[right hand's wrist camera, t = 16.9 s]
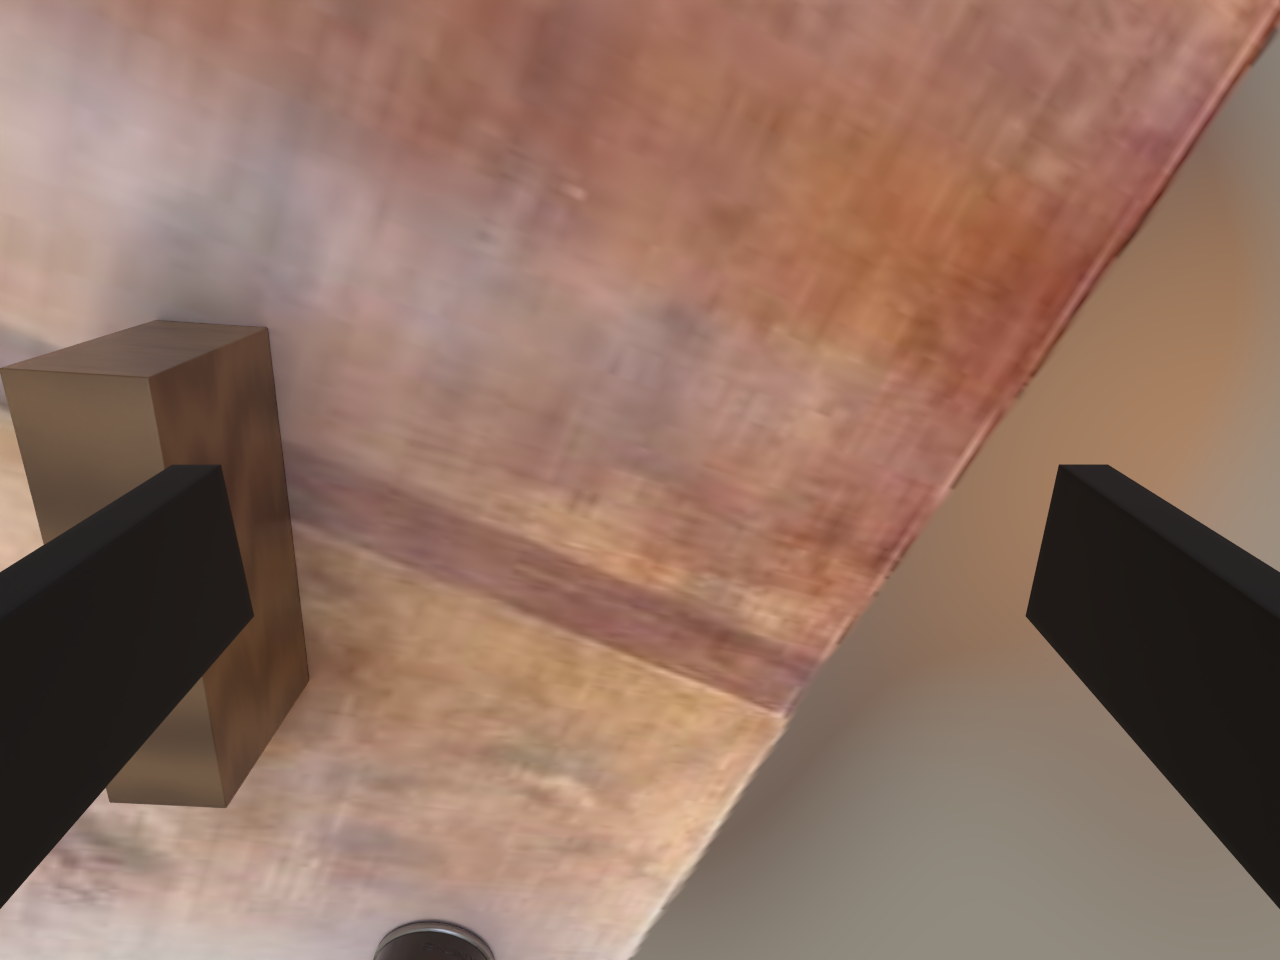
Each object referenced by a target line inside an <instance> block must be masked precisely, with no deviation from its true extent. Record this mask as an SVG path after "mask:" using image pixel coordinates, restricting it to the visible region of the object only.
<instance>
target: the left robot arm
mask: <svg viewBox="0 0 1280 960" xmlns="http://www.w3.org/2000/svg"><path fill="white" fill-rule="evenodd" d="M374 960H494V958H493V955H492V953H491V951H490V950H489V948H488V947H487V946H486V945H485V944H484V943H483V942H482V941H481V940H480V939H479V938H478V937H476V936H475V935H473V934H472V933H470V932H468V931H466V930H464V929H461V928H459V927H456V926H453V925H448V924H443V923H435V922H424V923H415V924H410V925H407V926H404V927H401V928H399V929H397V930H395V931H393V932H391V933H390V934H389V935H387V936H386V937H385V938H384V939H383V940H382V941H381V943H380V944H379V946H378V948H377V950H376V953H375V956H374Z"/></svg>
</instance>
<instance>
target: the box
mask: <svg viewBox="0 0 1280 960" xmlns="http://www.w3.org/2000/svg"><path fill="white" fill-rule="evenodd" d="M0 374H1V378H2V382H3V386H4V390H5V393H6V397H7V401H8V405H9V409H10V413H11V417H12V421H13V425H14V429H15V433H16V437H17V441H18V444H19V448H20V452H21V456H22V460H23V464H24V468H25V472H26V476H27V480H28V484H29V488H30V492H31V495H32V499H33V503H34V507H35V511H36V515H37V519H38V523H39V527H40V531H41V535H42V539H43V543H44V545H45V544H46V543H48V542H49V541H51V540H53V539H54V538H56V537H57V536H59V535H61V534H62V533H64V532H65V531H67V530H69V529H70V528H72V527H73V526H75V525H77V524H78V523H80V522H81V521H83V520H85V519H86V518H88V517H89V516H91V515H93V514H94V513H96V512H97V511H99V510H101V509H102V508H104V507H105V506H107V505H109V504H110V503H112V502H113V501H115V500H117V499H118V498H120V497H121V496H123V495H124V494H126V493H128V492H129V491H131V490H132V489H134V488H136V487H137V486H139V485H140V484H142V483H144V482H145V481H147V480H148V479H150V478H152V477H153V476H155V475H156V474H158V473H160V472H161V471H163V470H164V469H166V468H168V467H169V466H171V465H221V467H222V471H223V476H224V480H225V485H226V490H227V494H228V499H229V503H230V508H231V512H232V517H233V521H234V526H235V530H236V535H237V540H238V544H239V549H240V553H241V558H242V562H243V567H244V571H245V576H246V581H247V585H248V590H249V594H250V599H251V603H252V608H253V612H254V617H253V618H252V619H251V620H250V622H249V623H248V624H247V625H246V626H245V627H244V629H243V630H242V631H241V632H240V633H239V634H238V635H237V637H236V638H235V639H234V640H233V641H232V642H231V644H230V645H229V646H228V647H227V648H226V649H225V650H224V652H223V653H222V654H221V655H220V656H219V657H218V659H217V660H216V661H215V662H214V663H213V664H212V665H211V667H210V668H209V669H208V670H207V671H206V672H205V674H204V675H203V676H202V677H201V678H200V679H199V680H198V682H197V683H196V684H195V685H194V686H193V687H192V689H191V690H190V691H189V692H188V693H187V694H186V695H185V697H184V698H183V699H182V700H181V701H180V702H179V703H178V705H177V706H176V707H175V708H174V709H173V710H172V712H171V713H170V714H169V715H168V716H167V717H166V718H165V720H164V721H163V722H162V723H161V724H160V725H159V727H158V728H157V729H156V730H155V731H154V732H153V733H152V735H151V736H150V737H149V738H148V739H147V740H146V742H145V743H144V744H143V745H142V746H141V747H140V748H139V750H138V751H137V752H136V753H135V754H134V755H133V757H132V758H131V759H130V760H129V761H128V762H127V763H126V765H125V766H124V767H123V768H122V769H121V770H120V772H119V773H118V774H117V775H116V776H115V777H114V778H113V780H112V781H111V782H110V783H109V784H108V785H107V787H106V790H107V794H108V798H109V801H110V802H112V803H132V804H153V805H173V806H194V807H214V808H226V807H227V806H228V805H229V803H230V802H231V800H232V799H233V797H234V795H235V794H236V792H237V791H238V789H239V788H240V786H241V785H242V783H243V782H244V780H245V778H246V777H247V775H248V774H249V772H250V771H251V769H252V768H253V766H254V765H255V763H256V762H257V760H258V758H259V757H260V755H261V754H262V752H263V751H264V749H265V748H266V746H267V745H268V743H269V742H270V740H271V738H272V737H273V735H274V734H275V732H276V731H277V729H278V728H279V726H280V725H281V723H282V722H283V720H284V718H285V717H286V715H287V714H288V712H289V711H290V709H291V708H292V706H293V705H294V703H295V701H296V700H297V698H298V697H299V695H300V694H301V692H302V691H303V689H304V688H305V686H306V685H307V683H308V681H309V675H308V667H307V658H306V650H305V641H304V633H303V625H302V616H301V608H300V599H299V591H298V582H297V574H296V565H295V557H294V549H293V540H292V532H291V523H290V515H289V506H288V498H287V489H286V481H285V472H284V464H283V456H282V447H281V439H280V430H279V422H278V413H277V405H276V396H275V388H274V379H273V371H272V363H271V354H270V346H269V337H268V329H267V328H266V327H252V326H236V325H220V324H205V323H189V322H173V321H158V320H155V321H151V322H148V323H145V324H142V325H138V326H135V327H132V328H129V329H125V330H122V331H119V332H116V333H113V334H109V335H106V336H103V337H100V338H96V339H93V340H90V341H87V342H83V343H80V344H77V345H74V346H70V347H67V348H64V349H61V350H57V351H54V352H51V353H48V354H44V355H41V356H38V357H35V358H31V359H28V360H25V361H22V362H18V363H15V364H12V365H9V366H6V367H2V368H0Z"/></svg>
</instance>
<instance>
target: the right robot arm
mask: <svg viewBox="0 0 1280 960" xmlns="http://www.w3.org/2000/svg"><path fill="white" fill-rule="evenodd" d="M253 617H254V612H253V608H252V603H251V599H250V594H249V590H248V585H247V581H246V576H245V571H244V567H243V562H242V558H241V553H240V549H239V544H238V540H237V535H236V530H235V526H234V521H233V517H232V512H231V508H230V503H229V499H228V494H227V490H226V485H225V480H224V476H223V471H222V467H221V465H171V466H169V467H168V468H166V469H164V470H163V471H161V472H160V473H158V474H156V475H155V476H153V477H152V478H150V479H148V480H147V481H145V482H144V483H142V484H140V485H139V486H137V487H136V488H134V489H132V490H131V491H129V492H128V493H126V494H124V495H123V496H121V497H120V498H118V499H117V500H115V501H113V502H112V503H110V504H109V505H107V506H105V507H104V508H102V509H101V510H99V511H97V512H96V513H94V514H93V515H91V516H89V517H88V518H86V519H85V520H83V521H81V522H80V523H78V524H77V525H75V526H73V527H72V528H70V529H69V530H67V531H65V532H64V533H62V534H61V535H59V536H57V537H56V538H54V539H53V540H51V541H49V542H48V543H46V544H45V545H43V546H42V547H40V548H38V549H37V550H35V551H34V552H32V553H30V554H29V555H27V556H26V557H24V558H22V559H21V560H19V561H18V562H16V563H14V564H13V565H11V566H10V567H8V568H6V569H5V570H3V571H2V572H0V909H1V908H2V906H3V905H4V904H5V903H6V902H7V901H8V899H9V898H10V897H11V896H12V895H13V894H14V893H15V891H16V890H17V889H18V888H19V887H20V886H21V884H22V883H23V882H24V881H25V880H26V879H27V878H28V876H29V875H30V874H31V873H32V872H33V871H34V870H35V868H36V867H37V866H38V865H39V864H40V863H41V861H42V860H43V859H44V858H45V857H46V856H47V855H48V853H49V852H50V851H51V850H52V849H53V848H54V846H55V845H56V844H57V843H58V842H59V841H60V840H61V838H62V837H63V836H64V835H65V834H66V833H67V831H68V830H69V829H70V828H71V827H72V826H73V825H74V823H75V822H76V821H77V820H78V819H79V818H80V816H81V815H82V814H83V813H84V812H85V811H86V810H87V808H88V807H89V806H90V805H91V804H92V803H93V801H94V800H95V799H96V798H97V797H98V796H99V795H100V793H101V792H102V791H103V790H104V789H105V788H106V787H107V785H108V784H109V783H110V782H111V781H112V780H113V778H114V777H115V776H116V775H117V774H118V773H119V772H120V770H121V769H122V768H123V767H124V766H125V765H126V763H127V762H128V761H129V760H130V759H131V758H132V757H133V755H134V754H135V753H136V752H137V751H138V750H139V748H140V747H141V746H142V745H143V744H144V743H145V742H146V740H147V739H148V738H149V737H150V736H151V735H152V733H153V732H154V731H155V730H156V729H157V728H158V727H159V725H160V724H161V723H162V722H163V721H164V720H165V718H166V717H167V716H168V715H169V714H170V713H171V712H172V710H173V709H174V708H175V707H176V706H177V705H178V703H179V702H180V701H181V700H182V699H183V698H184V697H185V695H186V694H187V693H188V692H189V691H190V690H191V689H192V687H193V686H194V685H195V684H196V683H197V682H198V680H199V679H200V678H201V677H202V676H203V675H204V674H205V672H206V671H207V670H208V669H209V668H210V667H211V665H212V664H213V663H214V662H215V661H216V660H217V659H218V657H219V656H220V655H221V654H222V653H223V652H224V650H225V649H226V648H227V647H228V646H229V645H230V644H231V642H232V641H233V640H234V639H235V638H236V637H237V635H238V634H239V633H240V632H241V631H242V630H243V629H244V627H245V626H246V625H247V624H248V623H249V622H250V620H251V619H252V618H253ZM1026 617H1027V618H1028V619H1029V620H1030V622H1031V623H1032V624H1033V625H1034V626H1035V627H1036V629H1037V630H1038V631H1039V632H1040V633H1041V634H1042V635H1043V637H1044V638H1045V639H1046V640H1047V641H1048V642H1049V644H1050V645H1051V646H1052V647H1053V648H1054V649H1055V650H1056V652H1057V653H1058V654H1059V655H1060V656H1061V657H1062V659H1063V660H1064V661H1065V662H1066V663H1067V664H1068V665H1069V667H1070V668H1071V669H1072V670H1073V671H1074V672H1075V674H1076V675H1077V676H1078V677H1079V678H1080V679H1081V680H1082V682H1083V683H1084V684H1085V685H1086V686H1087V687H1088V689H1089V690H1090V691H1091V692H1092V693H1093V694H1094V695H1095V697H1096V698H1097V699H1098V700H1099V701H1100V702H1101V703H1102V705H1103V706H1104V707H1105V708H1106V709H1107V710H1108V712H1109V713H1110V714H1111V715H1112V716H1113V717H1114V718H1115V720H1116V721H1117V722H1118V723H1119V724H1120V725H1121V727H1122V728H1123V729H1124V730H1125V731H1126V732H1127V733H1128V735H1129V736H1130V737H1131V738H1132V739H1133V740H1134V742H1135V743H1136V744H1137V745H1138V746H1139V747H1140V748H1141V750H1142V751H1143V752H1144V753H1145V754H1146V755H1147V757H1148V758H1149V759H1150V760H1151V761H1152V762H1153V763H1154V765H1155V766H1156V767H1157V768H1158V769H1159V770H1160V771H1161V773H1162V774H1163V775H1164V776H1165V777H1166V778H1167V780H1168V781H1169V782H1170V783H1171V784H1172V785H1173V787H1174V788H1175V789H1176V790H1177V791H1178V792H1179V793H1180V795H1181V796H1182V797H1183V798H1184V799H1185V800H1186V801H1187V803H1188V804H1189V805H1190V806H1191V807H1192V808H1193V809H1194V811H1195V812H1196V813H1197V814H1198V815H1199V816H1200V818H1201V819H1202V820H1203V821H1204V822H1205V823H1206V824H1207V826H1208V827H1209V828H1210V829H1211V830H1212V831H1213V833H1214V834H1215V835H1216V836H1217V837H1218V838H1219V839H1220V841H1221V842H1222V843H1223V844H1224V845H1225V846H1226V848H1227V849H1228V850H1229V851H1230V852H1231V853H1232V855H1233V856H1234V857H1235V858H1236V859H1237V860H1238V861H1239V863H1240V864H1241V865H1242V866H1243V867H1244V868H1245V870H1246V871H1247V872H1248V873H1249V874H1250V875H1251V876H1252V878H1253V879H1254V880H1255V881H1256V882H1257V883H1258V884H1259V886H1260V887H1261V888H1262V889H1263V890H1264V891H1265V893H1266V894H1267V895H1268V896H1269V897H1270V898H1271V899H1272V901H1273V902H1274V903H1275V904H1276V905H1277V906H1278V908H1279V909H1280V572H1278V571H1277V570H1275V569H1274V568H1272V567H1270V566H1269V565H1267V564H1266V563H1264V562H1262V561H1261V560H1259V559H1258V558H1256V557H1254V556H1253V555H1251V554H1250V553H1248V552H1246V551H1245V550H1243V549H1242V548H1240V547H1238V546H1237V545H1235V544H1234V543H1232V542H1231V541H1229V540H1227V539H1226V538H1224V537H1223V536H1221V535H1219V534H1218V533H1216V532H1215V531H1213V530H1211V529H1210V528H1208V527H1207V526H1205V525H1203V524H1202V523H1200V522H1199V521H1197V520H1195V519H1194V518H1192V517H1191V516H1189V515H1187V514H1186V513H1184V512H1183V511H1181V510H1179V509H1178V508H1176V507H1175V506H1173V505H1171V504H1170V503H1168V502H1167V501H1165V500H1163V499H1162V498H1160V497H1159V496H1157V495H1156V494H1154V493H1152V492H1151V491H1149V490H1147V489H1146V488H1144V487H1143V486H1141V485H1139V484H1138V483H1136V482H1135V481H1133V480H1132V479H1130V478H1128V477H1127V476H1125V475H1124V474H1122V473H1120V472H1119V471H1117V470H1116V469H1114V468H1112V467H1111V466H1109V465H1059V467H1058V471H1057V476H1056V480H1055V485H1054V490H1053V494H1052V499H1051V503H1050V508H1049V512H1048V517H1047V521H1046V526H1045V530H1044V535H1043V540H1042V544H1041V549H1040V553H1039V558H1038V562H1037V567H1036V571H1035V576H1034V581H1033V585H1032V590H1031V594H1030V599H1029V604H1028V608H1027V613H1026Z"/></svg>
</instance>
